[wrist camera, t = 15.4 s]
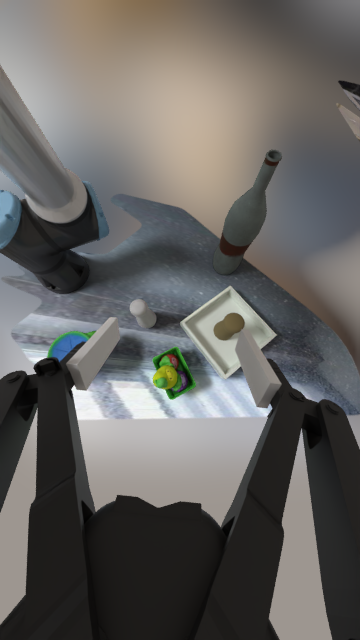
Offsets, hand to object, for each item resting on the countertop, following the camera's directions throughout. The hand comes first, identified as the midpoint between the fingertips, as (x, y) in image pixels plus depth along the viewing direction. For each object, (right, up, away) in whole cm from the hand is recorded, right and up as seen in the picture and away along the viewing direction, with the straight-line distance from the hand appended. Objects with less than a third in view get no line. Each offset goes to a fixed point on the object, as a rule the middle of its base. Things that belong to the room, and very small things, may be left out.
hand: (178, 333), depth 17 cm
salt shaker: (-10, +1, +32) cm, 34 cm away
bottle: (+16, +21, +38) cm, 46 cm away
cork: (+13, -2, +31) cm, 34 cm away
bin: (+14, -2, +31) cm, 34 cm away
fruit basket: (-2, -14, +28) cm, 31 cm away
